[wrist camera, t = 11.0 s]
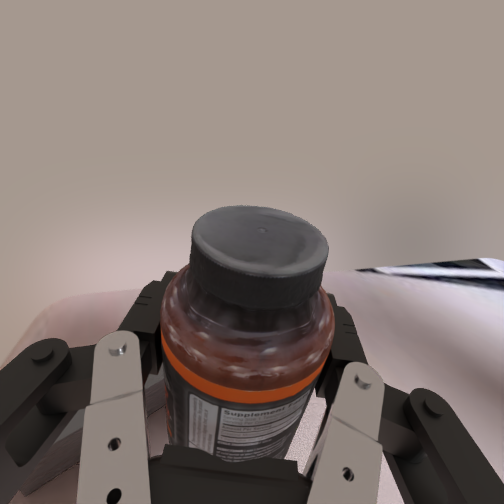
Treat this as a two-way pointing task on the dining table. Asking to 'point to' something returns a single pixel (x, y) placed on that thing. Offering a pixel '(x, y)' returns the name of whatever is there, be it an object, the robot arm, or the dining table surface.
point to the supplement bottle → (245, 332)
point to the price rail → (70, 439)
